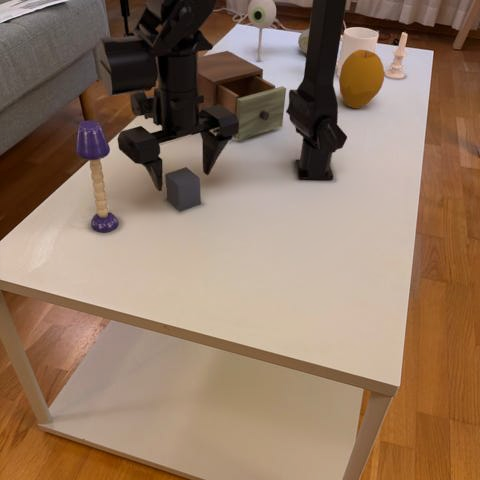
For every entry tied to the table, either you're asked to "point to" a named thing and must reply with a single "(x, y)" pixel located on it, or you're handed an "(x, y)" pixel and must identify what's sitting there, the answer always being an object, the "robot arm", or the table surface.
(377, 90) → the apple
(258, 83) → the drawer
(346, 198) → the table surface
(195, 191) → the block
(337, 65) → the cup
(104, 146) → the toy lamp
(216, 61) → the cabinet
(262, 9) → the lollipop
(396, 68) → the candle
